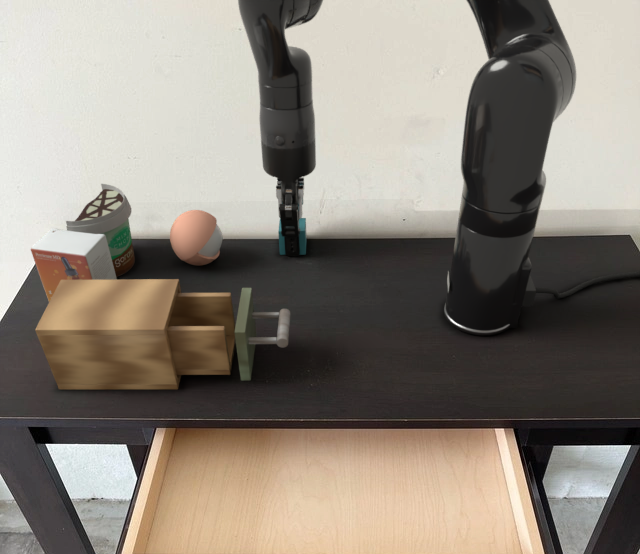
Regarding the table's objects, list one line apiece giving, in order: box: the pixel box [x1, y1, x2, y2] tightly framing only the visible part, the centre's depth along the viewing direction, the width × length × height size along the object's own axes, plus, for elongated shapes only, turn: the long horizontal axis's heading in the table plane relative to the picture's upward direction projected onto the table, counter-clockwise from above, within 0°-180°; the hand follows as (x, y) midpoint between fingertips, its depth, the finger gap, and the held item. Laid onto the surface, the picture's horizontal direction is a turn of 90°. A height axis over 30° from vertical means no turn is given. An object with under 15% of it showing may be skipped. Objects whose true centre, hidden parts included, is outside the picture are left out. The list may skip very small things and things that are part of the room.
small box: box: [30, 227, 118, 303], centre depth 88 cm, size 8×6×10 cm
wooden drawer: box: [167, 287, 291, 381], centre depth 80 cm, size 18×9×7 cm, turn 89°
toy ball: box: [169, 209, 224, 266], centre depth 97 cm, size 8×8×8 cm
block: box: [277, 217, 307, 256], centre depth 101 cm, size 4×4×4 cm
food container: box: [65, 183, 136, 278], centre depth 96 cm, size 12×6×10 cm, turn 168°
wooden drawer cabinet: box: [35, 278, 183, 390], centre depth 80 cm, size 15×10×9 cm
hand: (293, 246), depth 102 cm, fingers closed on block, 4 cm apart
